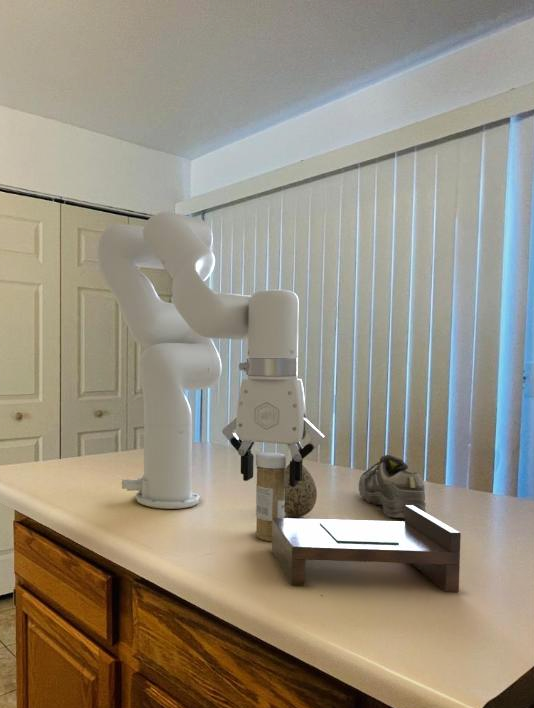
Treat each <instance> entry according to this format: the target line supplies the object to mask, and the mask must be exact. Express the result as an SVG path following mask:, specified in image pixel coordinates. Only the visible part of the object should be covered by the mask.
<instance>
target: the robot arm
mask: <svg viewBox="0 0 534 708" xmlns="http://www.w3.org/2000/svg"><path fill="white" fill-rule="evenodd" d="M211 229H212V228H211V227H210V226H209V224H208V223H207V222H206V221H205V220H203V219H201V218H199V217H195V216H190V215H186V214H185V215H184V214H181V213H176V212H169V211H165V212H159V213H155V214H153V215H151V216H150V217H149V218H148V219H147V220H146V222H145V224H144V226H141V225H136V224H130V223H129V224H127V223H119V224H113V225H111V226H108V227H106V228H105V229H104V230H103V231H102V233H101V234H100V236H99V239H98V242H97V252H96V253H97V264H98V268H99V271H100V274H101V277H102V278H103V281H104V282H105V284H106V285H107V287H108V289H109V290H110V292H111V294H112V295H113V297H114V299H115V301H116V303H117V305H118V309H119V311H120V313H121V315H122V317H123V320H124V322H125V324H126V327H127V329H128V331H129V334H130V336H131V337H132V339H133V341H134V342H135V343H136V344H137V345H139V346H142V347H146V349H145V350H144V351H143V352H142V354H141V356H140V357H139V361H138V373H139V378H140V385H141V390H142V397H143V398H142V399H143V474H142V478H141V477H138V478H137V479H125V478H124V479H123V478H122V479H121V489H122V490H126V491H127V492H129V491H130V492H133V491H136V494H135V498H136V499H135V500H136V501H137V503H139V504H141V505H143V506H146V507H150V508H155V509H164V510H165V509H166V510H167V509H168V510H173V509H175V510H177V509H186V508H191V507H194V506H197V505H198V504H199V503H200V495H199V494H198V493H197V492H195V491H193V490H192V477H193V476H192V473H193V469H192V468H193V467H192V466H193V464H192V463H193V461H192V458H193V457H192V456H193V450H192V449H193V414H192V408H191V406H190V402H189V400H188V398H187V397H186V394H185V392H184V391H198V390H207V389H209V388H212V387H214V386H215V385H216V384H217V383H218V382H219V380H220V378H221V375H222V360H221V357H220V354H219V352H218V351H219V350H217V348H216V345H215V343H214V341H213V339H215V340H216V339H219V340H221V339H223V340H224V339H227V340H239V341H240V340H244V341H245V340H247V358H246V361H244V362H239V364H238V369H239V371H241V372H245V373H246V375H247V377H245V378H242V379H241V383H240V388H239V394H238V400H237V410H236V418H234V419H233V420H232V421H230V422H229V423H228V424H227V425H226V426H224V428H222V432H221V433H222V434H223V435H224V436H225V437H226V439H227V440H228V441H229V443H230V444H231V445H232V447H233V448H234V449H235V450H236V451H237V454H238V456H240V474H241V475H242V480H243V481H244V482H247V481H250V480H251V479H253V478H254V457H255V456H254V453H252V449H253V447H254V446H255V445H254V444H255V443H267V444H278V445H287V448H288V449H289V452H290V455H291V456H292V457H291V460H290V461H289V464H290V476H289V485H290V486H291V487H295V486H296V485H297V484H298V483H299V481H301V480H302V465H303V460H304V459H305V458H306V457H308V455H310V454H311V453H312V452H313V451H314V450H316V448H318V446H320V445H321V444H322V443H323V442H324V441H325V440H326V436H325V435H324V434H323V433H322V432H321V431H320V430H319V429H318V428H317V427H315V425H314V424H313V423H311V421H309V420H308V419H307V409H306V407H307V406H306V397H305V390H304V385H303V379H302V378H298V372H299V371H298V370H299V369H298V365H299V364H298V363H299V362H298V361H299V313H300V311H299V309H300V308H299V307H300V304H299V303H300V302H299V297H298V295H297V294H296V293H295V292H294V291H291V290H287V289H268V290H267V289H266V290H260V291H256V292H254V293H252V294H251V295H246V294H239V293H228V292H217V291H214V290H213V289H212V288H211V287H210V286H209V285H208V284H207V283H206V282H205V281H206V280H207V279H208V278H209V277H210V275H211V274H212V272H213V271H214V269H215V263H216V258H215V255H214V253H213V251H212V250H211V249H212V247H213V241H214V236H213V231H212V230H211ZM138 267H140V268H146V269H147V268H148V269H156V270H160V269H161V270H166V272H167V273H168V275H169V276H170V277H171V278H172V285H171V294H172V302H167V301H164V300H162V299H161V298H160V296H159V295H158V293H157V291H156V290H155V287H154V285H153V283H152V281H151V280H150V279H149V277H147V276H146V275H145V274H144V272H142V271H141V270H140V269H138ZM307 434H308V435H309V437H311V439H310V441H309V442H308V443H307V444H305V445H304V446H302V444H301V441H302V440H304V439H305V438H306V436H307Z"/></svg>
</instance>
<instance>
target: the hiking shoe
mask: <svg viewBox="0 0 534 708" xmlns="http://www.w3.org/2000/svg"><path fill="white" fill-rule="evenodd" d="M372 469H374V470H372ZM408 469H409V466H408V464H407V463H406V462H405V461H404V459H402V458H400V457H397V456H394V455H391V454H386V455H382V456H381V457H379V461H378V462H375V464H373V465H371V467H370V468H368V469H367V470H366V471H364V472H363V473H362V474H361V476H360V477H359V481H358V492H359V496H360V497H361V499H362V500H365V501H366V502H367V503H369V504H371V503H372V505H376V506H381V505H382V511H383V514H384V515H386V516H387V517H389V518H396V519H405V505H413V506H415V507H417V508H418V509H420V510H422V511H424V512H425V513H427V510H426V505H427V503H426V502H425V500H426V495H425V494H426V493H425V492H426V491H425V484H424V480H423V478H422V476H421V475H420V473H419V472H411V471H408Z"/></svg>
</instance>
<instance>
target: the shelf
mask: <svg viewBox="0 0 534 708" xmlns="http://www.w3.org/2000/svg"><path fill="white" fill-rule="evenodd" d="M461 536H462V534H461V532H460V531H458V530H457V529H455V528H453V527H452V526H450V525H447V524H446V523H444V522H442V521H441V520H439V519H438V518H436V517H435V516H433V515H430V514H428V513H427V512H426V513H425V512H424V511H422V510H420V509H418V508H417V507H415V506H413V505H405V518H404V521H397V520H366V519H365V520H364V519H363V520H361V519H358V520H357V519H327V518H326V519H325V518H293V517H292V518H291V517H290V518H288V517H286V518H285V517H284V518H272V541H271V548H270V551H271V553H272V554H273V556H274V558H275V560H276V561H277V563H278V565H279V567H280V568H281V570H282V571H283V573H284V575H285V577H286V578H287V580H288V582H289V584H290V585H291V586H295V587H305V585H306V584H305V582H306V581H305V580H306V579H305V578H306V560H308V561H334V562H335V561H337V562H338V561H339V562H340V561H341V562H365V563H366V562H367V563H392V564H393V563H396V564H411V565H412V566H414V567H415V568H416V569H417V570H418V571H420V572H421V573H422V574H423V575H424V576H426V577H427V578H428V579H429V580H430V581H432V582H433V583H434V584H436V585H437V586H438V587H439V588H441V589H442V590H443V591H444V592H445V593H446V592H448V593H459V592H460V567H461V565H460V564H461V562H460V561H461V538H462V537H461Z"/></svg>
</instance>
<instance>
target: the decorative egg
mask: <svg viewBox="0 0 534 708" xmlns="http://www.w3.org/2000/svg"><path fill="white" fill-rule="evenodd" d="M284 468H285V470H284V490H285V500H284V514H287V515H289V516H290V517H294V518H295V517H296V518H299V517H300V518H301V517H303V516H306V515H307V514H310V512H311V511H312V510H313V509H314V507H315V505H316V502H317V497H318V491H317V486H316V483H315V480H314V478H313V476H312V474H311V473H310V472H309V470H308V468H307V467H306V466H304V465H303V464H302V480H301V481H299V483H298V484H297V485H296V486H295V487H291V486H290V485H289V476H290V463H288V465H286V467H284Z"/></svg>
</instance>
